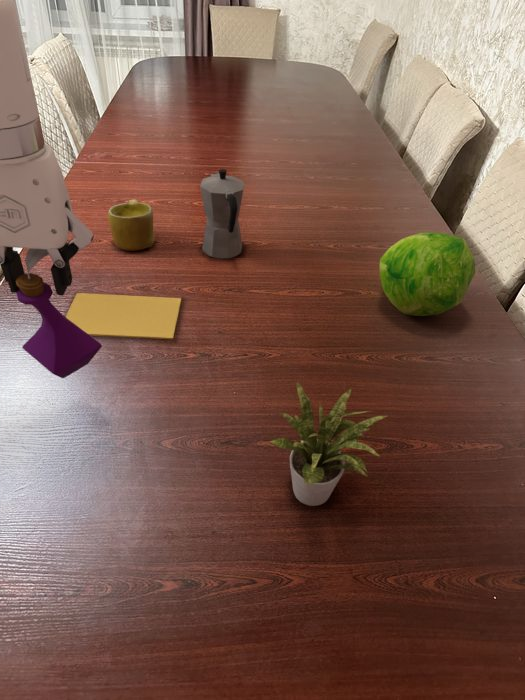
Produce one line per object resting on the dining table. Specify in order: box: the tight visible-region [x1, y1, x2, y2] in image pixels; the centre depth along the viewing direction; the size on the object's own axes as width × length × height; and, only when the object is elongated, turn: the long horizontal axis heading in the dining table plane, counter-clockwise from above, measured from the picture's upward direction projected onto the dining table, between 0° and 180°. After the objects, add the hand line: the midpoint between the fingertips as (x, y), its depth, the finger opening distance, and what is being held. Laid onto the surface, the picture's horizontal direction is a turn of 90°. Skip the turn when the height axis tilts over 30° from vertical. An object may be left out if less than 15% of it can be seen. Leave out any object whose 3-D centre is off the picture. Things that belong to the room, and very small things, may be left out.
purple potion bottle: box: [15, 248, 103, 379], centre depth 66 cm, size 8×8×18 cm
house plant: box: [269, 380, 390, 507], centre depth 64 cm, size 14×14×16 cm
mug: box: [107, 199, 155, 252], centre depth 114 cm, size 12×10×10 cm
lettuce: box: [379, 232, 476, 317], centre depth 99 cm, size 17×20×16 cm
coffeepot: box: [199, 168, 246, 260], centre depth 110 cm, size 15×9×18 cm, turn 19°
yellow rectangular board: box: [65, 292, 182, 340], centre depth 96 cm, size 20×12×1 cm, turn 90°
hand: (41, 286), depth 63 cm, fingers closed on purple potion bottle, 4 cm apart
